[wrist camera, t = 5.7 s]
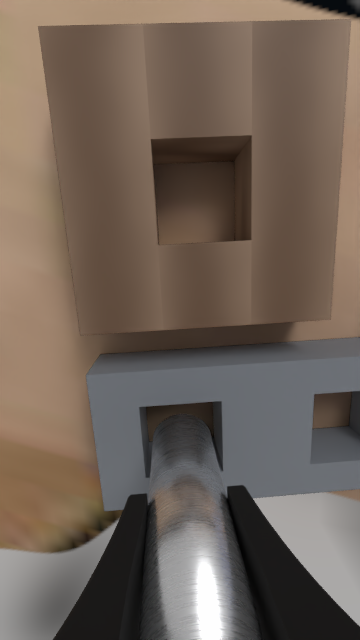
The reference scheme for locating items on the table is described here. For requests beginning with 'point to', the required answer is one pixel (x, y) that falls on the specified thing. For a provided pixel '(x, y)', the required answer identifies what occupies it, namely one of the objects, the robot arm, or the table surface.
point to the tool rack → (232, 414)
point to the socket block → (199, 146)
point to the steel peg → (192, 544)
